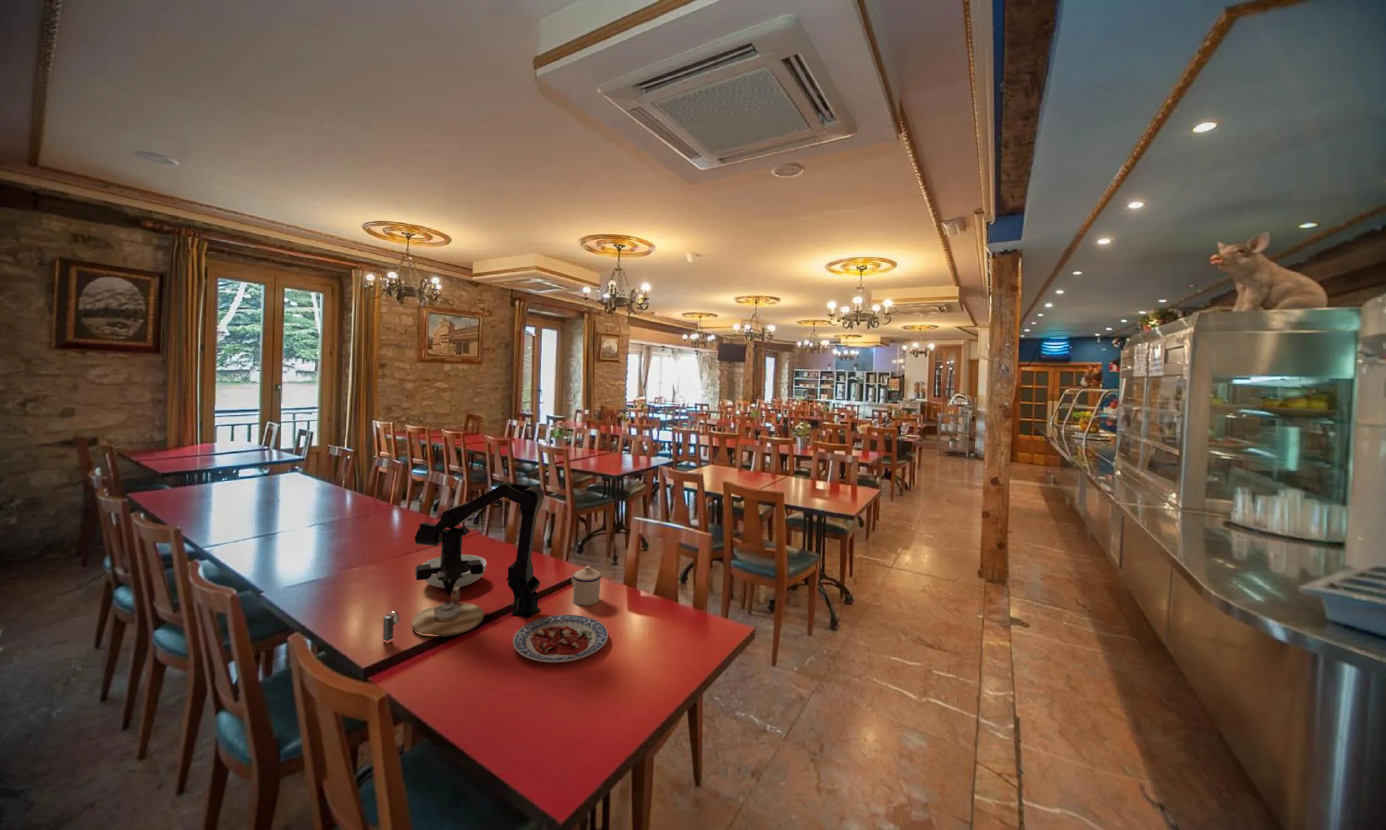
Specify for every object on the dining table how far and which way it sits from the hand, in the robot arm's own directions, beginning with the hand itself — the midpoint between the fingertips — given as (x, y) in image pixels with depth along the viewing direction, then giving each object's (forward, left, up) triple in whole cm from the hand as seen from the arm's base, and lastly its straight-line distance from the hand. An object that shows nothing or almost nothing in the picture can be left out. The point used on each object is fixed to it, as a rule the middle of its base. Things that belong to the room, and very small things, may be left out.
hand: (447, 596), depth 157 cm
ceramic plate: (-43, +3, -4) cm, 44 cm away
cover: (-7, +7, -2) cm, 10 cm away
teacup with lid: (-34, -24, -4) cm, 42 cm away
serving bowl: (+13, -16, -4) cm, 21 cm away
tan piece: (-7, +7, -4) cm, 11 cm away
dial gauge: (-1, +22, -4) cm, 22 cm away
